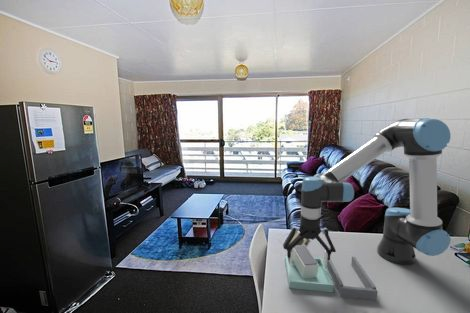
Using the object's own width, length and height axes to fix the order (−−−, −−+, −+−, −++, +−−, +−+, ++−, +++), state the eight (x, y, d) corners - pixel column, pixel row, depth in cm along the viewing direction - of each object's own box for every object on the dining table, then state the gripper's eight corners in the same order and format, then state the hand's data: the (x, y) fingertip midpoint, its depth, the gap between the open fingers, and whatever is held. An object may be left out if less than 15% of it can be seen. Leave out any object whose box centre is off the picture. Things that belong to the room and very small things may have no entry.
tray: (321, 264, 107) (321, 258, 106) (333, 292, 89) (333, 285, 89) (284, 261, 108) (285, 255, 108) (289, 288, 91) (289, 281, 90)
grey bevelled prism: (303, 255, 107) (305, 244, 105) (316, 277, 96) (319, 264, 94) (290, 257, 106) (292, 245, 104) (302, 278, 95) (304, 265, 93)
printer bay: (354, 265, 106) (354, 256, 106) (376, 300, 85) (377, 289, 85) (325, 263, 108) (325, 254, 107) (340, 296, 87) (341, 286, 86)
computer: (301, 253, 116) (301, 247, 116) (284, 248, 120) (285, 242, 120) (309, 240, 129) (309, 234, 129) (294, 236, 133) (294, 230, 133)
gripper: (340, 214, 98) (336, 262, 101) (277, 211, 100) (276, 258, 103) (346, 221, 90) (342, 273, 93) (279, 218, 93) (277, 268, 96)
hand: (307, 265), depth 98 cm, fingers open, 13 cm apart
